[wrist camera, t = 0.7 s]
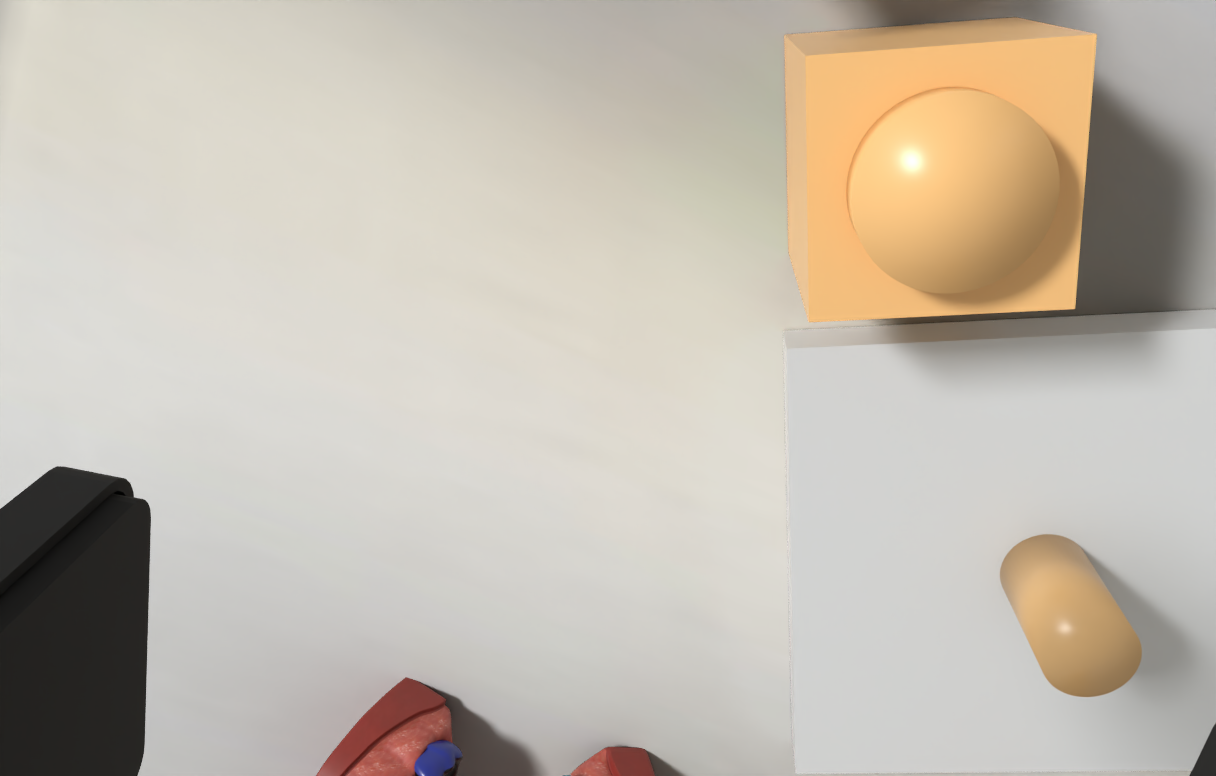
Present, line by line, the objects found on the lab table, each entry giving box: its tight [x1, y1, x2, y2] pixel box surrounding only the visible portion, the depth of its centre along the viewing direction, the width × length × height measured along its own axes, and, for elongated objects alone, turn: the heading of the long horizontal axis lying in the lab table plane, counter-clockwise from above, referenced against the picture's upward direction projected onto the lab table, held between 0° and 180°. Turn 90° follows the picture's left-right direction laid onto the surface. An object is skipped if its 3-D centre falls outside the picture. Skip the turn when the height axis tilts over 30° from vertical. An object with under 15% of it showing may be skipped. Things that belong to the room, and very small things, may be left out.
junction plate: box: [783, 309, 1216, 774], centre depth 30 cm, size 14×14×6 cm
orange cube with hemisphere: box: [784, 17, 1097, 322], centre depth 25 cm, size 6×6×7 cm
